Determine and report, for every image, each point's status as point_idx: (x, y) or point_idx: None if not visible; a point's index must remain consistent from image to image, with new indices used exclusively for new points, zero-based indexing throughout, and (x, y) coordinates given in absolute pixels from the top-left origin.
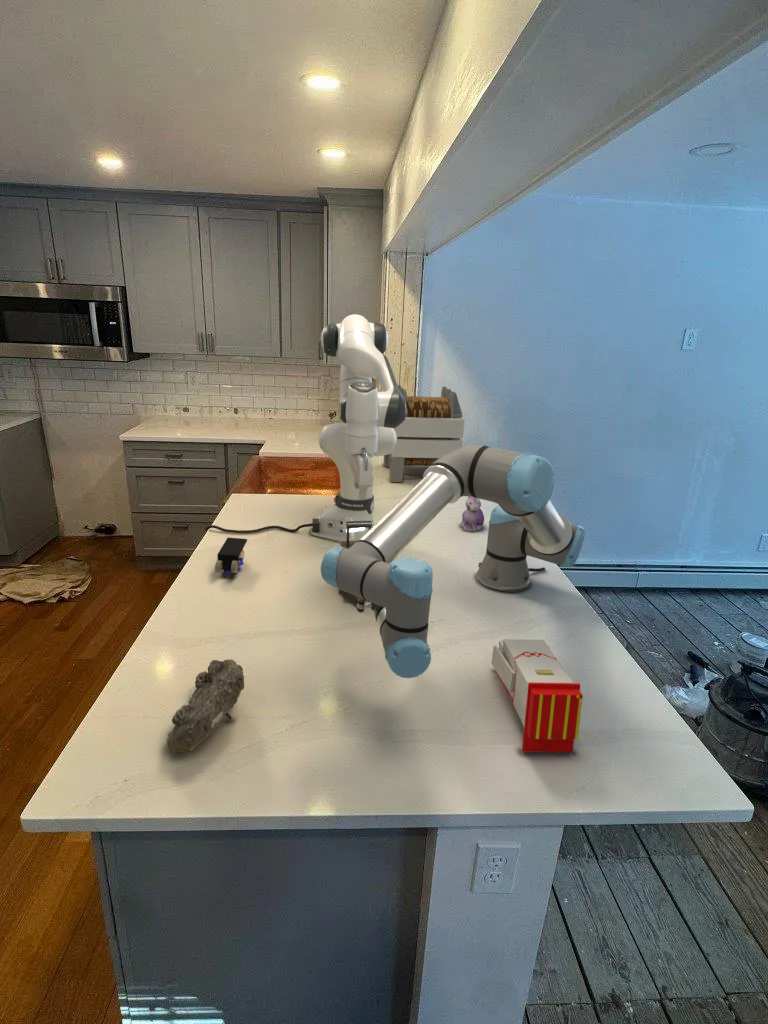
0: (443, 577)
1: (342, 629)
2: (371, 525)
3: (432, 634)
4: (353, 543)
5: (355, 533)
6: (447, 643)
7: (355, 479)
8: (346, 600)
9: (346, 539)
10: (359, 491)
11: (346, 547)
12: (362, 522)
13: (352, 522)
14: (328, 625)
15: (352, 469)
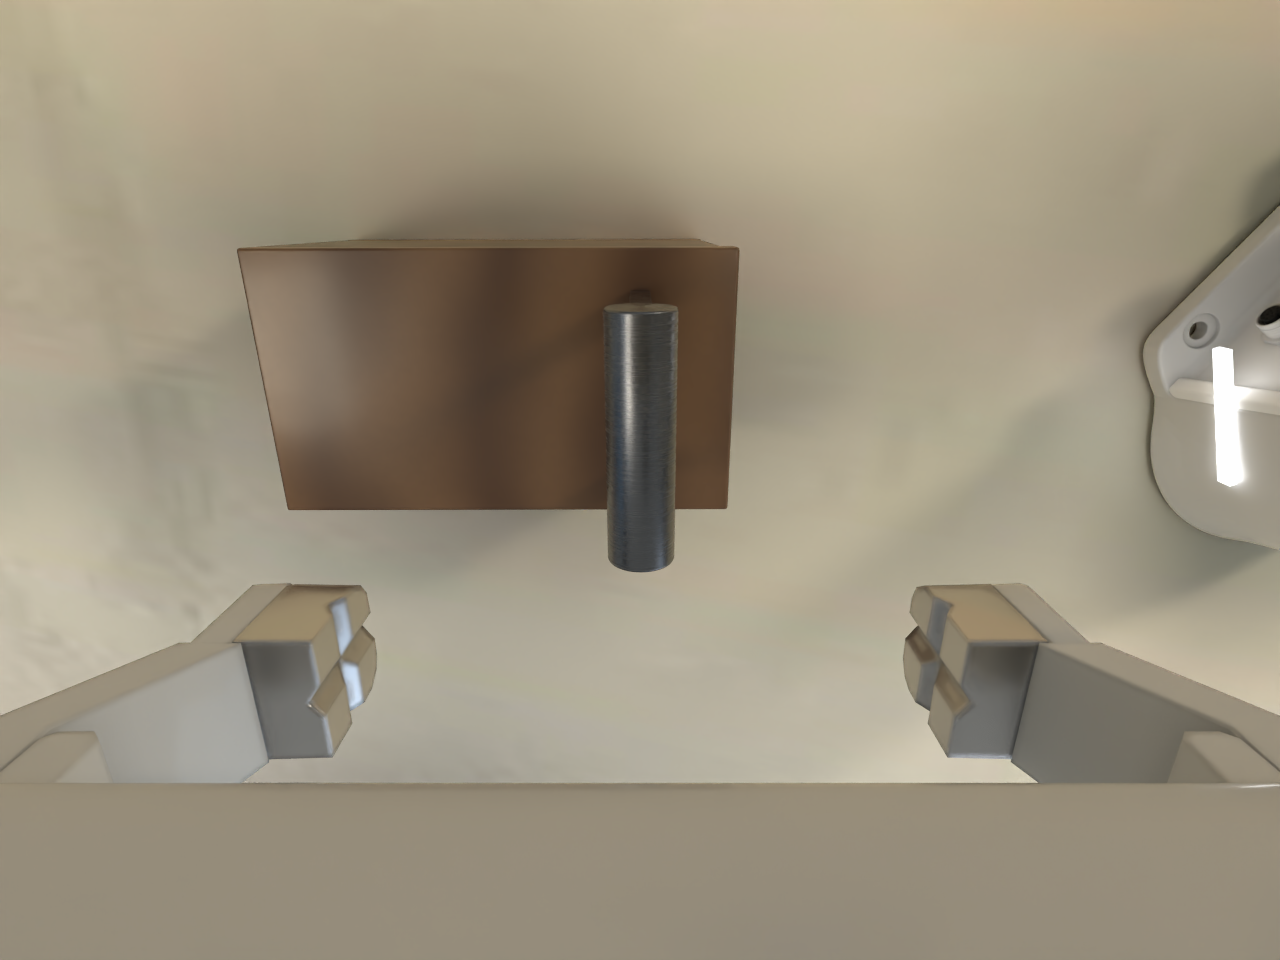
0: (610, 746)
1: (53, 182)
2: (608, 551)
3: (85, 589)
4: (679, 353)
5: (1202, 411)
6: (25, 628)
7: (1096, 694)
8: (351, 240)
9: (647, 294)
10: (150, 665)
11: (603, 285)
12: (619, 480)
13: (622, 377)
14: (80, 103)
15: (1181, 908)
